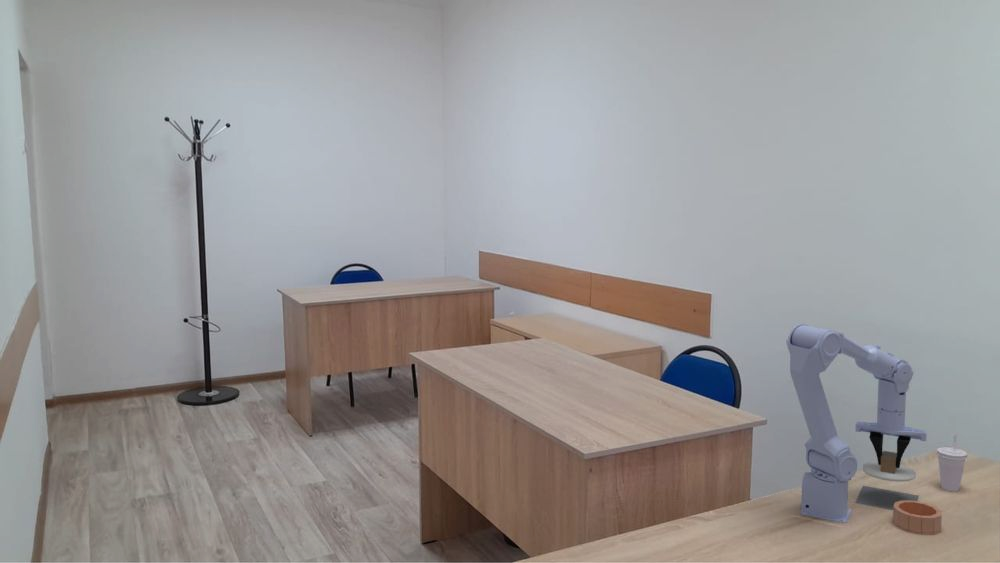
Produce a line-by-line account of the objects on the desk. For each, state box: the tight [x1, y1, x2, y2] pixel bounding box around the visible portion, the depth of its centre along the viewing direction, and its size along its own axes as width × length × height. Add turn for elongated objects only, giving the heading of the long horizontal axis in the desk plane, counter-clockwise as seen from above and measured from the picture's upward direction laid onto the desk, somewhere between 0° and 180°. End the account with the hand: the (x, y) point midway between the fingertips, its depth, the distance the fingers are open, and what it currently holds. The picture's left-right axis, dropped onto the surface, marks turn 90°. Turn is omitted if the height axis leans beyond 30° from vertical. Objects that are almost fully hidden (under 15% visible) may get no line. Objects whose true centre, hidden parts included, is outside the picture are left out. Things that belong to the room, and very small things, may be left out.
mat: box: [855, 485, 920, 511], centre depth 172 cm, size 12×12×1 cm
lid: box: [862, 450, 917, 483], centre depth 171 cm, size 11×11×4 cm
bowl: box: [892, 500, 943, 535], centre depth 158 cm, size 9×9×4 cm
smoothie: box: [935, 433, 968, 492], centre depth 177 cm, size 6×6×14 cm
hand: (889, 465), depth 171 cm, fingers closed on lid, 3 cm apart
